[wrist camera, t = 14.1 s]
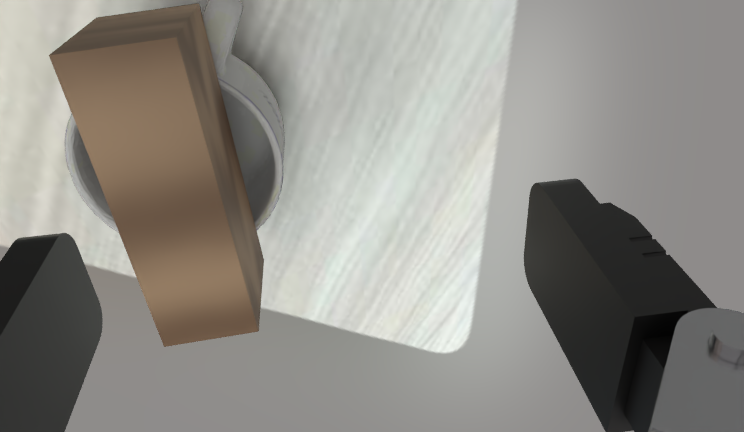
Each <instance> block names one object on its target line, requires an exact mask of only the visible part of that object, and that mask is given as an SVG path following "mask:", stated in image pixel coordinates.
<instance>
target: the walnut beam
mask: <svg viewBox="0 0 744 432" xmlns="http://www.w3.org/2000/svg"><path fill="white" fill-rule="evenodd" d="M49 56H50V59H51V62H52V64H53V67H54V69H55V72H56V74H57V77H58V79H59V82H60V84H61V87H62V89H63V92H64V94H65V97H66V99H67V102H68V105H69V107H70V110H71V112H72V115H73V117H74V120H75V122H76V125H77V127H78V130H79V132H80V135H81V137H82V140H83V142H84V145H85V148H86V150H87V153H88V155H89V158H90V160H91V163H92V165H93V168H94V170H95V173H96V175H97V178H98V180H99V183H100V185H101V188H102V191H103V193H104V196H105V198H106V201H107V203H108V206H109V208H110V211H111V213H112V216H113V218H114V221H115V223H116V226H117V228H118V231H119V234H120V236H121V239H122V241H123V244H124V246H125V249H126V251H127V254H128V256H129V259H130V261H131V264H132V266H133V269H134V271H135V274H136V277H137V279H138V282H139V284H140V287H141V289H142V292H143V294H144V296H145V299H146V302H147V304H148V307H149V309H150V311H151V314H152V317H153V320H154V322H155V324H156V327H157V330H158V332H159V335H160V337H161V340H162V342H163V345H164V347H166V346H172V345H178V344H184V343H189V342H196V341H202V340H208V339H215V338H221V337H227V336H233V335H239V334H245V333H251V332H257V331H259V319H260V305H261V291H262V278H263V264H264V259H263V255H262V251H261V247H260V243H259V239H258V235H257V231H256V227H255V223H254V219H253V215H252V211H251V207H250V203H249V200H248V196H247V192H246V188H245V184H244V180H243V176H242V172H241V168H240V164H239V160H238V156H237V152H236V148H235V144H234V140H233V136H232V132H231V128H230V124H229V121H228V117H227V113H226V109H225V105H224V101H223V97H222V93H221V89H220V85H219V81H218V77H217V73H216V69H215V65H214V61H213V57H212V53H211V49H210V45H209V41H208V38H207V34H206V30H205V26H204V22H203V18H202V14H201V10H200V6H199V3H198V4H191V5H183V6H176V7H169V8H162V9H155V10H148V11H141V12H134V13H126V14H119V15H112V16H105V17H98V18H96V19H94V20H93V21H92V22H91V23H89V24H88V25H87V26H85V27H84V28H83V29H82V30H80V31H79V32H78V33H77V34H75V35H74V36H73V37H72V38H70V39H69V40H68V41H67V42H65V43H64V44H63V45H62V46H60V47H59V48H58V49H56V50H55V51H54V52H53V53H51V54H50V55H49Z"/></svg>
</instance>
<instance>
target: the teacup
mask: <svg viewBox="0 0 744 432" xmlns="http://www.w3.org/2000/svg"><path fill="white" fill-rule="evenodd" d="M242 9H243V6H242V3H241V2H240V1H239V0H209V1H208V4H207V6H206V9H205V11H204V14H203V22H204V26H205V30H206V34H207V38H208V41H209V45H210V49H211V53H212V57H213V61H214V65H215V69H216V73H217V77H218V81H219V85H220V89H221V93H222V97H223V101H224V105H225V109H226V113H227V117H228V121H229V124H230V128H231V132H232V136H233V140H234V144H235V148H236V152H237V156H238V160H239V164H240V168H241V172H242V176H243V180H244V184H245V188H246V192H247V196H248V200H249V203H250V207H251V211H252V215H253V219H254V223H255V227H256V231H257V230H258V229H259V228H260V226H261V225H263V224H264V223H265V221H266V220H267V219H268V217H269V216H270V214H271V212H272V211H273V209H274V208H275V205H276V203H277V201H278V199H279V195H280V192H281V187H282V182H283V158H284V143H285V142H284V126H283V120H282V116H281V113H280V110H279V107H278V104H277V101H276V99H275V98H274V96H273V94H272V92H271V90H270V89H269V87H268V86H267V84H266V83H265V82H264V80H263V79H262V78H261V77H260V76H259V74H258V73H257V72H256V71H255V70H253V69H252V68H251V67H250V66H249V65H247V64H246V63H245V62H243V61H242V60H240V59H239V58H237V57H235V56H234V55H232V53H231V51H232V46H233V42H234V38H235V34H236V31H237V27H238V24H239V20H240V17H241V14H242ZM65 153H66V161H67V166H68V169H69V172H70V175H71V178H72V181H73V183H74V185H75V187H76V189H77V191H78V193H79V194H80V196H81V197H82V199H83V200H84V202H85V203H86V204H87V205H88V207H89V208H90V209H91V210H92V211H93V213H94V214H95V215H97V216H98V217H99V218H100V219H101V220H102V221H103V222H105V223H106V224H107V225H108V226H109V227H111V228H112V229H114V230H115V231H117V232H118V233H119V231H118V228H117V226H116V223H115V221H114V218H113V216H112V213H111V211H110V208H109V206H108V203H107V201H106V198H105V196H104V193H103V191H102V188H101V185H100V183H99V180H98V178H97V175H96V173H95V170H94V168H93V165H92V163H91V160H90V158H89V155H88V153H87V150H86V148H85V145H84V142H83V140H82V137H81V135H80V132H79V130H78V127H77V125H76V122H75V120H74V117H73V115H72V114H71V116H70V119H69V122H68V125H67V129H66V135H65Z"/></svg>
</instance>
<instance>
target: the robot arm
mask: <svg viewBox="0 0 744 432" xmlns="http://www.w3.org/2000/svg"><path fill="white" fill-rule="evenodd" d="M525 239H526V240H525V249H524V266H525V273H526V277H527V281H528V284H529V286H530V289H531V291H532V293H533V294H534V296H535V298H536V300H537V302H538V304H539V306H540V308H541V310H542V311H543V314H544V315H545V317H546V319H547V321H548V323H549V325H550V327H551V329H552V331H553V332H554V334H555V336H556V338H557V340H558V342H559V344H560V346H561V348H562V350H563V352H564V353H565V355H566V357H567V359H568V361H569V363H570V365H571V367H572V369H573V371H574V372H575V374H576V376H577V378H578V380H579V382H580V384H581V386H582V388H583V390H584V391H585V393H586V395H587V397H588V399H589V401H590V403H591V405H592V407H593V409H594V411H595V412H596V414H597V416H598V418H599V420H600V422H601V424H602V426H603V427H604V430H605V431H606V432H625V431H631V430H634V432H744V313H741V312H738V311H734V310H729V309H721V308H717V307H716V306H715V305H714V304H713V303H712V302H711V301H710V300H709V298H708V297H707V296H706V295H705V294H704V293H703V292H702V291H701V289H700V288H699V287H698V286H697V285H696V284H695V283H694V282H693V281H692V279H691V278H689V276H688V275H687V274H686V273H685V272H684V271H683V269H682V268H681V267H680V266H679V265H678V264H677V263H676V262H675V261H674V260H673V258H672V257H671V256H670V255H666V251H665V250H664V248H663V247H662V246H661V245H660V244H659V243H658V242H657V241H656V239H652V235H651V234H650V233H649V232H648V231H647V229H646V228H645V227H644V226H643V225H642V224H641V223H640V222H639V221H638V219H636V218H635V217H634V216H632V215H631V214H629V213H627V212H625V211H624V210H622V209H620V208H618V207H617V206H615V205H613V204H611V203H603V204H600V203H599V202H598V201H597V200H596V199H595V197H594V196H593V195H592V194H591V193H590V192H589V190H588V189H587V188H586V187H585V186H584V184H583V183H582V182H581V181H580V180H578V179H568V180H559V181H550V182H541V183H535V184H534V185H533V186H532V188H531V192H530V197H529V208H528V218H527V229H526V238H525ZM101 332H102V311H101V306H100V303H99V300H98V297H97V295H96V293H95V290H94V287H93V285H92V282H91V280H90V277H89V275H88V272H87V270H86V267H85V265H84V262H83V260H82V257H81V255H80V252H79V250H78V247H77V245H76V243H75V241H74V239H73V238H72V237H71V236H70V235H69V234H67V233H61V234H52V235H42V236H33V237H24V238H19V239H17V240H15V241H14V243H13V244H12V245H11V247H10V248H9V250H8V251H7V253H6V254H5V256H4V257H3V258H2V260H1V261H0V432H64V431H65V429H66V426H67V424H68V421H69V418H70V416H71V413H72V411H73V408H74V405H75V403H76V400H77V397H78V395H79V392H80V390H81V387H82V384H83V382H84V379H85V377H86V374H87V371H88V369H89V366H90V364H91V361H92V358H93V356H94V353H95V350H96V348H97V345H98V342H99V340H100V337H101Z"/></svg>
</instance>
